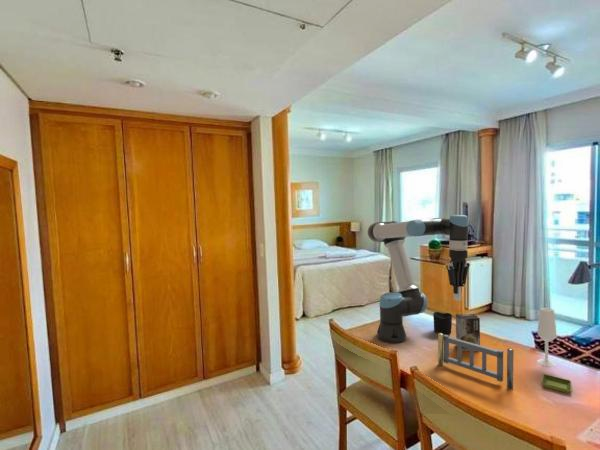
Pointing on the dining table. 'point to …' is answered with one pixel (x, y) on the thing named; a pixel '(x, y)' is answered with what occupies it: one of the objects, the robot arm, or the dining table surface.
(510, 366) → the hinge post
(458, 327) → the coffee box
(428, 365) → the dining table surface
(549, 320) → the champagne flute
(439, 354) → the post
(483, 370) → the gate
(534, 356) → the dining table surface
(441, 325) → the pen holder
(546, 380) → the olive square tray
